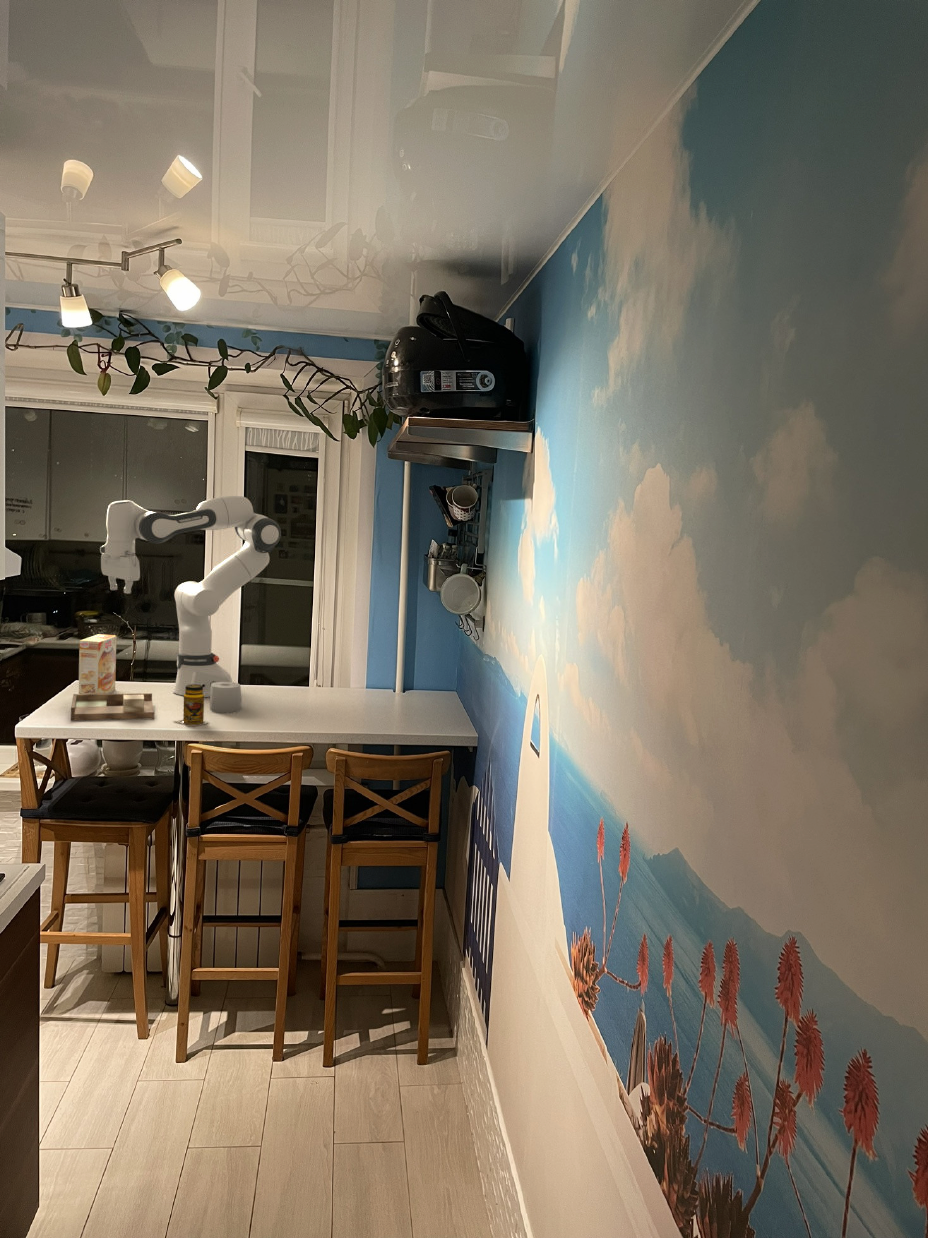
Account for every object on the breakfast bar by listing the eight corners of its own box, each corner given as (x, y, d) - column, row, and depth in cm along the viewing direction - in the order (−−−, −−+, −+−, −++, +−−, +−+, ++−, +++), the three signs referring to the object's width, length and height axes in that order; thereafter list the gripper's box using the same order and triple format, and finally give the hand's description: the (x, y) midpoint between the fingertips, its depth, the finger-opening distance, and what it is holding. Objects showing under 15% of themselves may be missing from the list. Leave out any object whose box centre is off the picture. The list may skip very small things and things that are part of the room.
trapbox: (151, 704, 303) (151, 693, 303) (153, 718, 286) (154, 706, 286) (73, 706, 294) (73, 694, 294) (70, 720, 278) (71, 707, 277)
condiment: (191, 727, 280) (192, 689, 278) (173, 722, 284) (174, 684, 283) (210, 723, 286) (211, 685, 284) (192, 718, 290) (193, 681, 289)
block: (143, 706, 292) (143, 694, 291) (143, 711, 286) (144, 698, 286) (123, 707, 290) (123, 694, 289) (123, 711, 284) (123, 699, 284)
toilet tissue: (246, 705, 311) (246, 680, 310) (233, 714, 298) (234, 688, 297) (220, 703, 312) (220, 678, 311) (206, 712, 299) (207, 686, 298)
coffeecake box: (98, 699, 306) (99, 641, 303) (77, 697, 306) (78, 640, 304) (116, 689, 321) (117, 635, 318) (96, 688, 321) (97, 633, 318)
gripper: (145, 552, 295) (144, 594, 297) (115, 547, 309) (115, 587, 311) (126, 552, 291) (126, 595, 292) (97, 547, 304) (97, 588, 306)
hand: (120, 591), depth 302 cm, fingers open, 8 cm apart
